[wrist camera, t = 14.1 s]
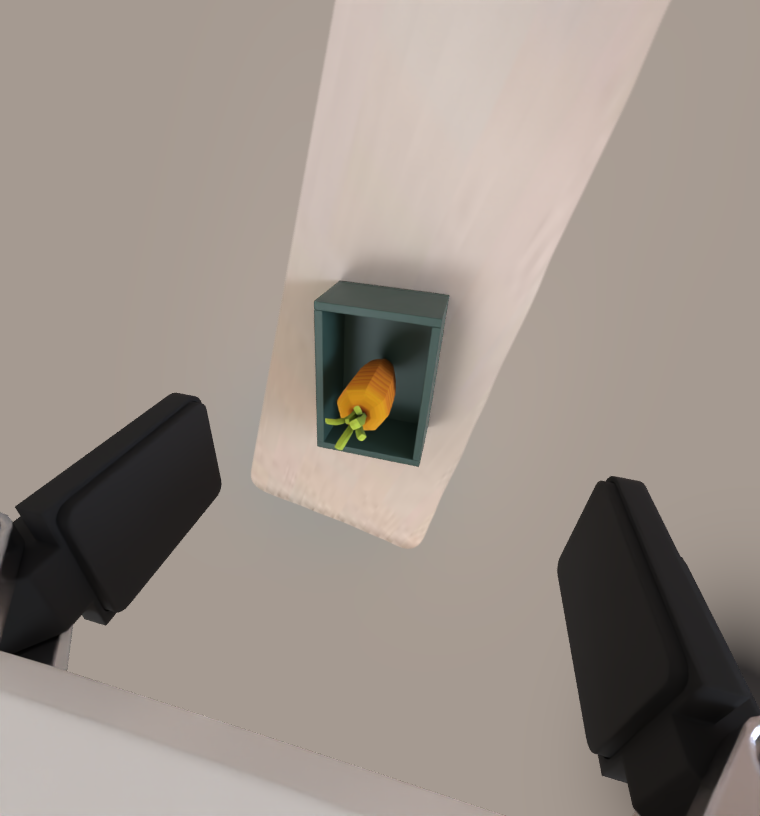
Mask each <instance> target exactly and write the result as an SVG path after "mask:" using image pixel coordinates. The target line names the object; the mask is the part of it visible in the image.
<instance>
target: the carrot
mask: <svg viewBox="0 0 760 816" xmlns="http://www.w3.org/2000/svg"><path fill="white" fill-rule="evenodd" d="M395 390H396V378H395V372H394V367H393V364H392V363H391V362H390V361H388V360H387V359H375V360H372V361H370V362H368V363H367V364H365V365H364V366H363V367H362V368H361V369H360V370H359V371H358V373H357V374H356V375H355V376H354V378H353V379H352V380H351V382H350V383H349V384H348V385H347V387H346V388H345V389H344V391H343V392H342V394H341V395H340V396H339V398H338V400H337V405H338V409H339V412H340V416H341V418H340V419H329V418H325V422H326V424H330V425H340V424H344V423H346V424H348V427H347V428H346V430H345V431H344V433H343V434H342V435H341V437H340V438H339V440H338V441H337V443H336V445H335V448H336V449H338V450H343V448H344V447H345V445H346V444H347V442H348V440H349V438H350V436H351V435H352V433H353V431H354V430H355V432H356V436H357V439H359V440H360V441H363V440H364V439H365V438H366V437H367V436H366V434H365V432H364V430H376V429H377V428H378V427H379V425H380V424H381V423H382V422H383V421H384V420H385V419H386V418H387V417H388V415H389V413H390V410H391V407H392V404H393V401H394V397H395Z"/></svg>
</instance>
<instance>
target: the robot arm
mask: <svg viewBox="0 0 760 816" xmlns="http://www.w3.org/2000/svg"><path fill="white" fill-rule="evenodd" d="M220 489H221V478H220V473H219V468H218V463H217V458H216V453H215V448H214V443H213V439H212V434H211V429H210V424H209V419H208V415H207V410H206V407H205V405H204V404H202V403H201V400H200V399H199V398H198V397H196V396H191V395H185V394H180V393H172V394H170V395H168V396H167V397H165V398H164V399H163V400H161V401H160V402H159V403H157V404H156V405H154V406H153V407H152V408H150V409H149V410H148V411H146V412H145V413H143V414H142V415H141V416H139V417H138V418H136V419H135V420H134V421H132V422H131V423H130V424H128V425H127V426H126V427H124V428H123V429H121V430H120V431H119V432H117V433H116V434H115V435H113V436H112V437H110V438H109V439H108V440H106V441H105V442H103V443H102V444H101V445H99V446H98V447H97V448H95V449H94V450H93V451H91V452H90V453H88V454H87V455H85V456H84V457H83V458H81V459H80V460H79V461H77V462H76V463H75V464H73V465H72V466H70V467H69V468H68V469H67V470H65V471H63V472H62V473H61V474H59V475H58V476H57V477H56V478H54V479H52V480H51V481H50V482H49V483H47V484H46V485H44V486H43V487H41V488H40V489H39V490H37V491H36V492H35V493H34V494H32V495H30V496H29V497H28V498H26V499H25V500H23V501H22V502H21V503H20V504H18V505H17V506H16V507H15V508H16V509H17V511H18V513H19V514H20V517H19V518H18V519H16V520H15V521H14V522H12V521H11V519H10V518H9V517H8V515H6V514H3V513H1V512H0V816H505V815H502V814H499V813H496V812H493V811H490V810H487V809H484V808H481V807H478V806H475V805H472V804H469V803H466V802H463V801H460V800H457V799H454V798H451V797H448V796H445V795H442V794H439V793H436V792H433V791H430V790H427V789H424V788H421V787H418V786H415V785H412V784H409V783H406V782H403V781H400V780H397V779H394V778H391V777H388V776H385V775H382V774H379V773H376V772H373V771H370V770H367V769H364V768H361V767H358V766H355V765H352V764H349V763H346V762H343V761H340V760H337V759H334V758H331V757H328V756H325V755H322V754H319V753H316V752H313V751H310V750H307V749H304V748H301V747H298V746H295V745H292V744H289V743H285V742H283V741H280V740H276V739H274V738H271V737H267V736H265V735H261V734H258V733H255V732H252V731H249V730H246V729H243V728H240V727H237V726H234V725H231V724H228V723H225V722H221V721H219V720H216V719H213V718H210V717H207V716H204V715H200V714H198V713H194V712H191V711H188V710H185V709H182V708H179V707H176V706H173V705H170V704H167V703H164V702H161V701H158V700H155V699H151V698H148V697H145V696H142V695H139V694H136V693H133V692H130V691H127V690H124V689H120V688H117V687H114V686H111V685H108V684H105V683H102V682H98V681H96V680H93V679H90V678H86V677H83V676H80V675H77V674H74V673H71V672H68V671H67V668H68V660H69V652H70V644H71V637H72V629H73V624H74V623H75V622H76V620H78V618H79V617H80V616H81V615H82V616H83V617H84V619H86V620H90V621H93V622H96V623H99V624H103V625H107V624H108V623H109V621H110V620H111V619H112V618H113V617H114V615H115V614H116V613H117V612H121V611H123V610H124V609H126V607H127V606H128V605H129V604H130V603H131V602H132V601H133V599H134V598H135V597H136V595H137V594H138V593H139V592H140V591H141V589H142V588H143V587H144V586H145V584H146V583H147V582H148V581H149V579H150V578H151V577H152V576H153V575H154V573H155V572H156V571H157V570H158V569H159V567H160V566H161V565H162V564H163V562H164V561H165V560H166V559H167V557H168V556H169V555H170V554H171V552H172V551H173V550H174V549H175V547H176V546H177V545H178V544H179V543H180V541H181V540H182V539H183V537H184V536H185V535H186V534H187V533H188V532H189V530H190V529H191V528H192V527H193V525H194V524H195V523H196V522H197V520H198V519H199V518H200V517H201V516H202V514H203V513H204V512H205V510H206V509H207V508H208V507H209V506H210V504H211V503H212V502H213V501H214V499H215V498H216V497H217V496H218V494H219V492H220ZM557 573H558V580H559V585H560V591H561V597H562V603H563V608H564V614H565V620H566V625H567V631H568V637H569V643H570V648H571V654H572V660H573V665H574V671H575V677H576V682H577V688H578V693H579V700H580V705H581V711H582V717H583V722H584V728H585V734H586V739H587V743H588V746H589V748H590V750H591V752H593V753H594V754H598V758H599V763H600V768H601V773H602V776H605V777H609V778H612V779H615V780H618V781H622V782H625V783H628V787H629V792H630V796H631V801H632V805H633V808H634V809H635V812H634V813H633V815H632V816H760V709H759V707H758V705H757V703H756V701H755V699H754V697H753V695H752V693H751V691H750V689H749V687H748V685H747V683H746V681H745V679H744V677H743V675H742V673H741V671H740V669H739V667H738V665H737V663H736V661H735V659H734V658H733V656H732V653H731V651H730V650H729V647H728V646H727V643H726V641H725V640H724V637H723V635H722V633H721V631H720V630H719V628H718V626H717V624H716V622H715V620H714V618H713V616H712V614H711V612H710V610H709V608H708V606H707V604H706V602H705V600H704V598H703V596H702V594H701V592H700V590H699V588H698V586H697V584H696V582H695V580H694V578H693V576H692V574H691V572H690V570H689V568H688V566H687V564H686V563H685V561H684V560H683V558H682V557H680V555H679V553H678V551H677V549H676V547H675V545H674V543H673V541H672V539H671V537H670V535H669V533H668V531H667V529H666V527H665V525H664V523H663V521H662V519H661V517H660V515H659V513H658V510H657V508H656V507H655V505H654V502H653V501H652V499H651V496H650V494H649V493H648V490H647V488H646V486H645V485H644V484H643V483H642V482H640V481H635V480H631V479H626V478H620V477H615V476H611V477H609V478H608V479H607V480H606V482H605V481H599V482H598V483H597V484H596V486H595V488H594V490H593V492H592V494H591V496H590V498H589V500H588V502H587V504H586V506H585V508H584V510H583V512H582V514H581V516H580V518H579V520H578V522H577V524H576V526H575V528H574V530H573V532H572V534H571V536H570V538H569V540H568V542H567V544H566V546H565V548H564V550H563V552H562V554H561V556H560V558H559V561H558V569H557Z"/></svg>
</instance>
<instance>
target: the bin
mask: <svg viewBox="0 0 760 816" xmlns="http://www.w3.org/2000/svg"><path fill="white" fill-rule="evenodd" d="M448 300H449V295H445V294H438V293H430V292H422V291H415V290H407V289H400V288H392V287H385V286H377V285H369V284H362V283H354V282H347V281H339V282H338V283H336V284H335V285H334V286H333V287H331V288H330V289H329V290H328V291H326V292H325V293H324V294H323V295H321V296H320V297H319V298H317V299H316V300H315V301H314V309H315V310H314V324H315V366H316V407H317V446H318V447H323V448H328V449H333V450H338V449H336V448H335V445H336V443H337V441H338V440H339V438H340V437H341V435H342V434H343V433H344V431H345V430H346V428H347V427H348V424H346V423H344V424H340V425H330V424H326V422H325V418H329V419H340V418H341V416H340V412H339V409H338V405H337V400H338V398H339V396H340V395H341V394H342V392H343V391H344V389H345V388H346V387H347V385H348V384H349V383H350V382H351V380H352V379H353V378H354V376H355V375H356V374H357V373H358V371H359V370H360V369H361V368H362V367H363V366H364V365H365V364H367V363H368V362H370V361H372V360H375V359H387V360H388V361H390V362H391V363H392V364H393V367H394V372H395V378H396V390H395V397H394V401H393V404H392V407H391V410H390V413H389V415H388V417H387V418H386V419H385V420H384V421H383V422H382V423H381V424H380V425H379V427H378V428H377V429H376V430H364V432H365V434H366V436H367V437H366V438H365V439H364V440H363V441H360V440H359V439H357V436H356V432H355V430H354V431H353V433H352V435H351V436H350V438H349V440H348V442H347V444H346V445H345V447H344V448H343V450H338V451H343V452H348V453H353V454H358V455H363V456H368V457H373V458H378V459H383V460H388V461H393V462H398V463H403V464H408V465H412V466H417V467H419V465H420V460H421V456H422V451H423V447H424V442H425V438H426V433H427V428H428V423H429V416H430V410H431V404H432V398H433V392H434V386H435V380H436V374H437V368H438V361H439V355H440V349H441V343H442V337H443V331H444V325H445V319H446V312H447V306H448Z"/></svg>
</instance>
